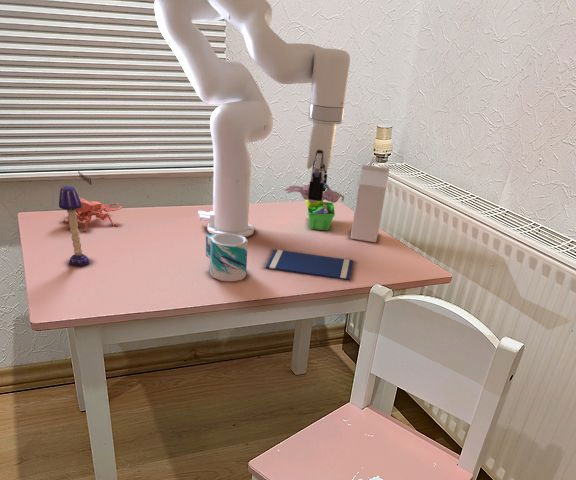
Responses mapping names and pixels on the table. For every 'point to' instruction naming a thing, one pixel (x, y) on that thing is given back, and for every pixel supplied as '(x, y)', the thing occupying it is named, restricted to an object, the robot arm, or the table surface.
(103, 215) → the beetle
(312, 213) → the fruit basket
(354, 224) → the milk carton
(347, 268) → the cloth
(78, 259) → the toy lamp
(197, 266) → the table surface
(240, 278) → the mug
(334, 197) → the rabbit figure
